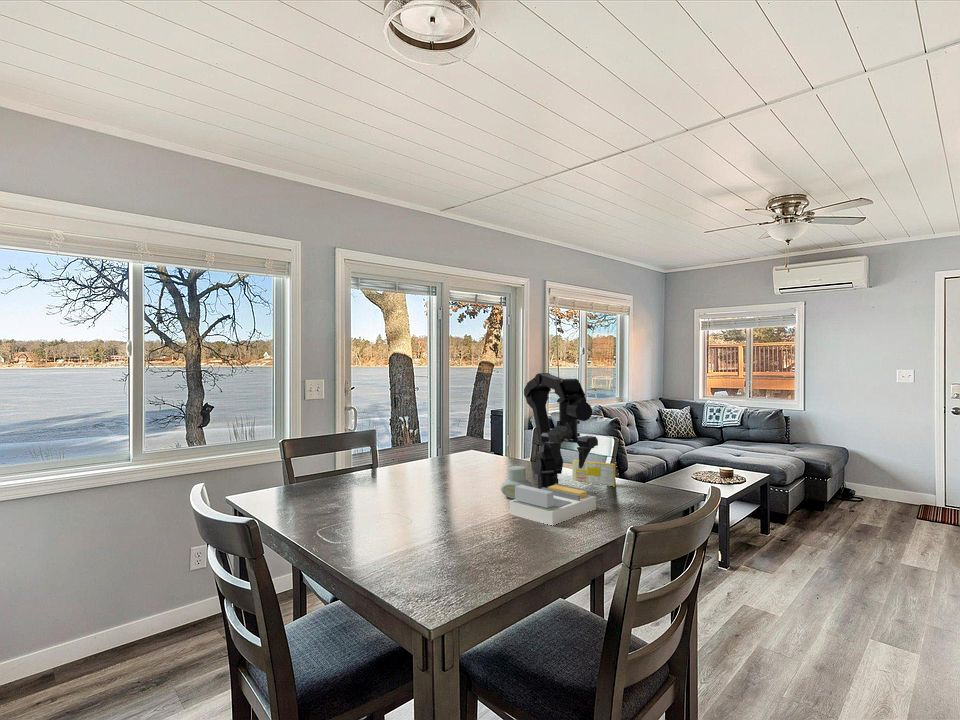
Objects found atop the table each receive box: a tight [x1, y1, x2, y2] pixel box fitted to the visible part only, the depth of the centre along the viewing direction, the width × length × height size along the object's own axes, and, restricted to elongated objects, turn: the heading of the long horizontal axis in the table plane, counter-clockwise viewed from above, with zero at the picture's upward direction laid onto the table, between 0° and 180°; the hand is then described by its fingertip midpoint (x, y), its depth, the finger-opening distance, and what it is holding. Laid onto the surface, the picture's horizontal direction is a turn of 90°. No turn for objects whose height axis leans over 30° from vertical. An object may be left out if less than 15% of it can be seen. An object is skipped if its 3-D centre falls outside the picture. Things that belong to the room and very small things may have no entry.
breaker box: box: [509, 483, 597, 527], centre depth 155 cm, size 16×22×6 cm
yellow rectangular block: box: [548, 485, 587, 498], centre depth 160 cm, size 12×4×2 cm, turn 45°
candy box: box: [571, 459, 616, 488], centre depth 189 cm, size 16×2×8 cm, turn 58°
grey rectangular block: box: [515, 485, 554, 508], centre depth 149 cm, size 12×3×4 cm, turn 45°
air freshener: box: [500, 465, 534, 500], centre depth 172 cm, size 11×8×10 cm
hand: (568, 465), depth 164 cm, fingers open, 9 cm apart
